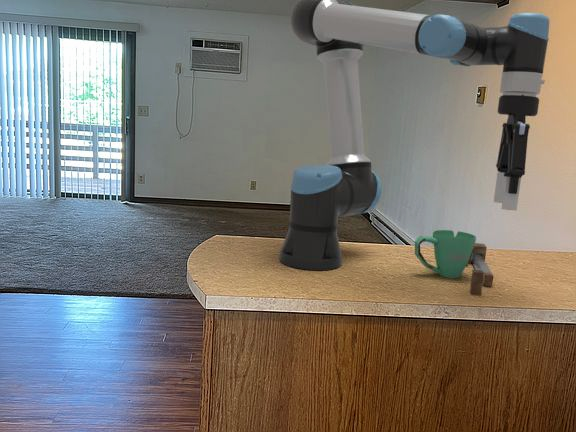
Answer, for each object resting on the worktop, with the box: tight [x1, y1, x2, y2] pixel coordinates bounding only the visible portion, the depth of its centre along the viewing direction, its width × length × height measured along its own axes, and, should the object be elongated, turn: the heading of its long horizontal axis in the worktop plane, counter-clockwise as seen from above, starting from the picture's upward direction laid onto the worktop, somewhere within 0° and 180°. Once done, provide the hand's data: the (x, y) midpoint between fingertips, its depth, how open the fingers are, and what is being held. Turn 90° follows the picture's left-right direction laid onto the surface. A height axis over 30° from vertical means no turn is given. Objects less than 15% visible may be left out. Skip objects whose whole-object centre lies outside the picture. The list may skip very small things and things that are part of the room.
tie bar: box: [471, 253, 494, 287], centre depth 139 cm, size 2×26×2 cm, turn 169°
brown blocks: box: [465, 242, 487, 297], centre depth 134 cm, size 7×32×5 cm, turn 169°
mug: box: [414, 229, 477, 279], centre depth 133 cm, size 15×10×10 cm
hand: (504, 205), depth 117 cm, fingers open, 9 cm apart
